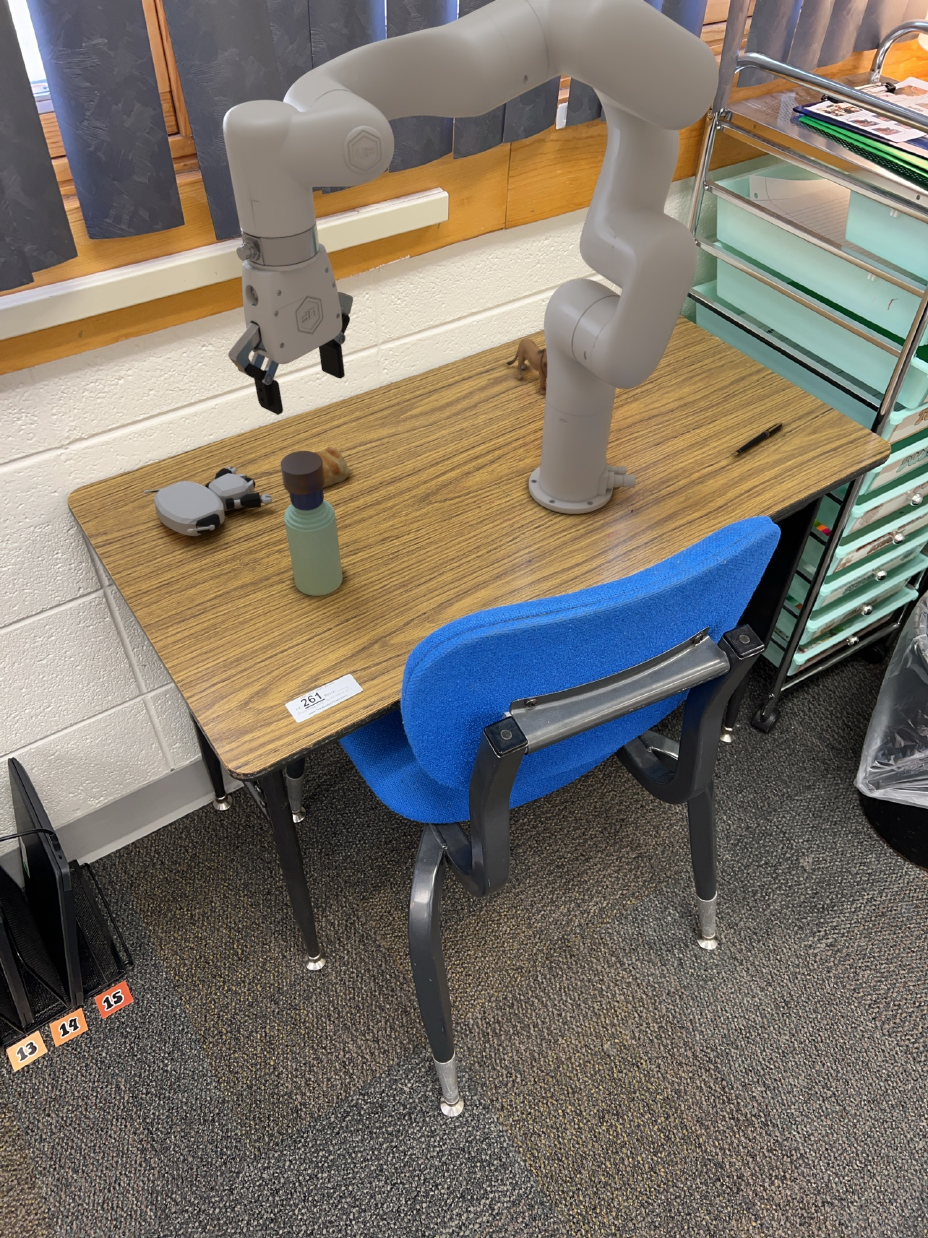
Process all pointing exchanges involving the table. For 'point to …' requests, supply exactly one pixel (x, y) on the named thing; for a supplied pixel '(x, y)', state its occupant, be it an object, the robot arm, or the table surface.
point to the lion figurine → (531, 361)
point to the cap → (307, 500)
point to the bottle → (314, 549)
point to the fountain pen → (759, 438)
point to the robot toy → (205, 501)
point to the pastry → (333, 466)
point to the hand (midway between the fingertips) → (303, 391)
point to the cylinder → (302, 472)
